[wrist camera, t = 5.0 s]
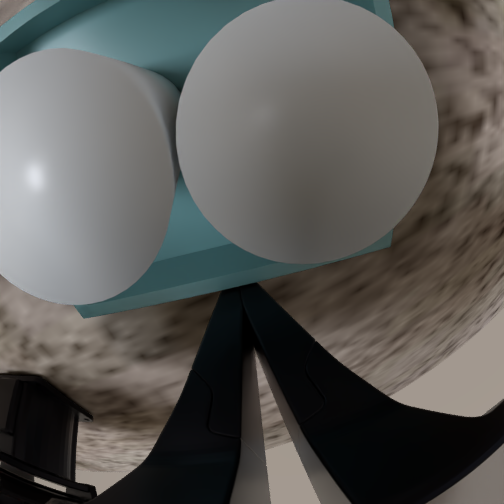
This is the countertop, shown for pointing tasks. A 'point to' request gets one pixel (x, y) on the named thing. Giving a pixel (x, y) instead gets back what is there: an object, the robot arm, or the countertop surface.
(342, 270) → the countertop surface
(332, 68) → the white round piece
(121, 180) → the white egg
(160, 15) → the tray
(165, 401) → the countertop surface
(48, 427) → the robot arm
